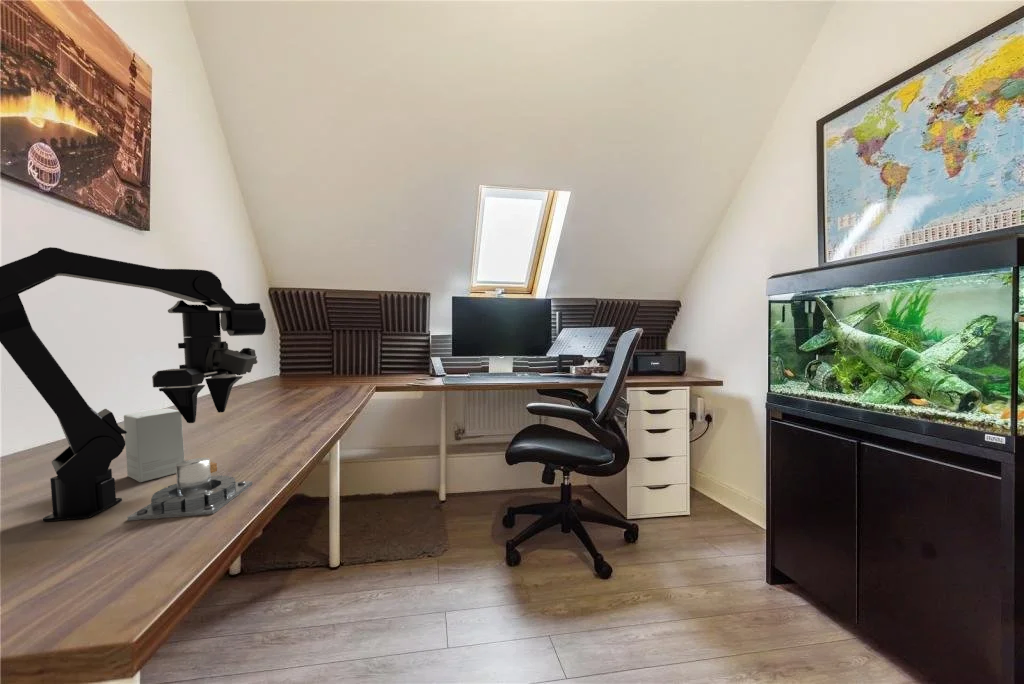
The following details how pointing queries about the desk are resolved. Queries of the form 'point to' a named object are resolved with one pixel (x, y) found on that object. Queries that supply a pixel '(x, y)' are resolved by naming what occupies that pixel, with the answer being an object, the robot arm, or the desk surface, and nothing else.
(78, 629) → the desk surface
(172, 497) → the duct flange
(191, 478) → the silver metal cylinder
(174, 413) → the supplement box
